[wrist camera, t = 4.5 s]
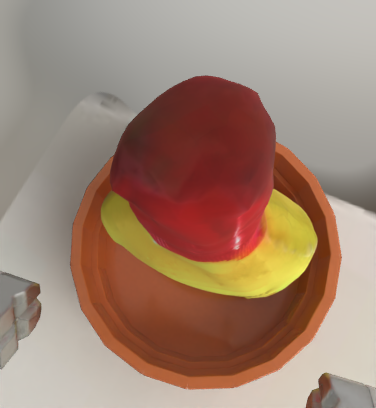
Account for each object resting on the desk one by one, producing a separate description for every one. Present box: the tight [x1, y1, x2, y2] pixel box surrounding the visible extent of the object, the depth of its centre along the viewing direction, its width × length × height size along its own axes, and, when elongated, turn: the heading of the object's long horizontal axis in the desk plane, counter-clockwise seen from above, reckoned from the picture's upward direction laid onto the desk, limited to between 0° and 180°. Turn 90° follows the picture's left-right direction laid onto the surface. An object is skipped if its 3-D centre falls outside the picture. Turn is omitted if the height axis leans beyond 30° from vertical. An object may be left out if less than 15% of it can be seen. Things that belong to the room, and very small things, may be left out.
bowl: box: [70, 142, 342, 389], centre depth 24 cm, size 17×17×6 cm
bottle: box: [101, 76, 318, 299], centre depth 17 cm, size 12×6×20 cm, turn 74°
